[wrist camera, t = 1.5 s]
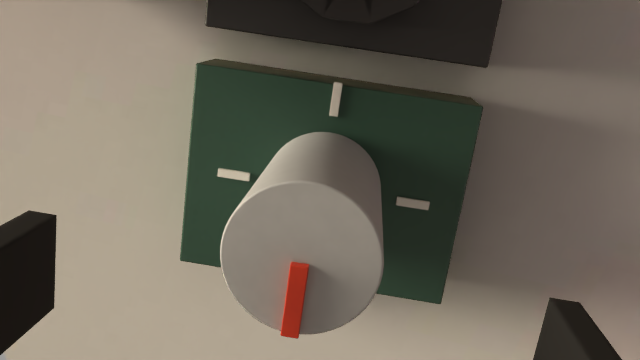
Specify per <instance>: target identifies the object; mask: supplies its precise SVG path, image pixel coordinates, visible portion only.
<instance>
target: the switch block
mask: <svg viewBox="0 0 640 360" xmlns="http://www.w3.org/2000/svg"><path fill="white" fill-rule="evenodd" d="M501 4H502V0H207V6H206V18H205V25H206V26H208V27H215V28H222V29H229V30H235V31H242V32H249V33H256V34H262V35H269V36H276V37H282V38H289V39H296V40H303V41H309V42H316V43H323V44H330V45H336V46H343V47H350V48H356V49H363V50H370V51H377V52H383V53H390V54H397V55H404V56H410V57H417V58H424V59H430V60H437V61H444V62H451V63H457V64H464V65H471V66H477V67H484V68H486V67H488V64H489V60H490V55H491V50H492V46H493V41H494V36H495V32H496V27H497V22H498V18H499V13H500V8H501Z"/></svg>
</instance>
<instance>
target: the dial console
mask: <svg viewBox="0 0 640 360" xmlns="http://www.w3.org/2000/svg"><path fill="white" fill-rule="evenodd" d="M482 111H483V107H482V106H481V105H480V104H478V103H477V102H476V101H475V100H473V99H472V98H471V97H464V96H457V95H451V94H444V93H438V92H431V91H424V90H418V89H411V88H405V87H398V86H391V85H385V84H378V83H371V82H365V81H358V80H352V79H345V78H338V77H332V76H325V75H319V74H312V73H305V72H299V71H292V70H286V69H279V68H272V67H266V66H259V65H252V64H246V63H239V62H233V61H226V60H219V59H213V60H209V61H205V62H201V63H197V64H196V73H195V85H194V97H193V109H192V121H191V133H190V145H189V157H188V169H187V181H186V193H185V205H184V217H183V230H182V242H181V254H180V260H181V261H186V262H192V263H198V264H204V265H210V266H215V267H221V262H220V245H221V239H222V235H223V232H224V229H225V226H226V224H227V222H228V220H229V218H230V217H231V215H232V214H233V212H234V211H235V209H236V208H237V207H238V205H239V204H240V202H241V201H242V200H243V198H244V197H245V196H246V194H247V193H248V192H249V190H250V189H251V187H252V186H253V185H254V183H255V182H256V181H257V179H258V178H259V177H260V175H261V174H262V172H263V171H264V170H265V168H266V167H267V166H268V164H269V163H270V162H271V160H272V159H273V157H274V156H275V155H276V153H277V152H278V151H279V150H280V149H281V148H282V147H283V146H284V145H285V144H287V143H288V142H290V141H291V140H293V139H294V138H297V137H299V136H301V135H304V134H308V133H313V132H330V133H335V134H339V135H342V136H345V137H347V138H349V139H351V140H353V141H354V142H356V143H357V144H359V145H360V146H361V147H362V148H363V149H364V150H365V151H366V152H367V153H368V154H369V155H370V157H371V158H372V160H373V162H374V163H375V166H376V168H377V170H378V173H379V176H380V182H381V202H382V225H383V249H384V268H383V275H382V279H381V283H380V285H379V288H378V290H377V292H376V294H382V295H388V296H394V297H400V298H406V299H412V300H418V301H424V302H430V303H436V304H441V301H442V296H443V292H444V287H445V282H446V278H447V273H448V268H449V264H450V259H451V254H452V250H453V245H454V241H455V236H456V231H457V227H458V222H459V217H460V213H461V208H462V204H463V199H464V194H465V190H466V185H467V180H468V176H469V171H470V167H471V162H472V157H473V153H474V148H475V143H476V139H477V134H478V130H479V125H480V120H481V116H482Z"/></svg>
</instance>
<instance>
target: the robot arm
mask: <svg viewBox="0 0 640 360" xmlns="http://www.w3.org/2000/svg"><path fill="white" fill-rule="evenodd" d="M55 252H56V215H52V214H46V213H40V212H34V211H27V212H25V213H23V214H22V215H20V216H18V217H16V218H14V219H12V220H10V221H9V222H7V223H5V224H3V225H1V226H0V355H1V354H2V353H3V352H4V351H6V350H7V349H8V348H9V347H10V346H11V345H12V344H14V343H15V342H16V341H17V340H18V339H19V338H20V337H21V336H23V335H24V334H25V333H26V332H27V331H28V330H29V329H31V328H32V327H33V326H34V325H35V324H36V323H37V322H39V321H40V320H41V319H42V318H43V317H44V316H45V315H46V314H48V313H49V312H50V311H51V310H52V309H53V308H54V291H55ZM533 360H622V359H621V358H620V356H619V355H618V354H617V352H616V351H615V350H614V348H613V347H612V346H611V344H610V343H609V341H608V340H607V339H606V337H605V336H604V335H603V333H602V332H601V331H600V329H599V328H598V327H597V325H596V324H595V323H594V321H593V320H592V318H591V317H590V316H589V314H588V313H587V312H586V310H585V309H584V308H583V306H582V305H581V304H580V303H579V302H573V301H567V300H561V299H555V298H549V302H548V306H547V310H546V313H545V317H544V321H543V325H542V328H541V332H540V336H539V340H538V343H537V347H536V351H535V355H534V358H533Z"/></svg>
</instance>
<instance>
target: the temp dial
mask: <svg viewBox="0 0 640 360" xmlns="http://www.w3.org/2000/svg"><path fill="white" fill-rule="evenodd" d="M220 262H221V268H222V272H223V276H224V279H225V281H226V284H227V286H228V288H229V290H230V292H231V294H232V295H233V297H234V298H235V299H236V301H237V302H238V303H239V305H240V306H241V307H242V308H243V309H244V310H245V311H246V312H247V313H249V314H250V315H251V316H252V317H254V318H255V319H257V320H258V321H260V322H261V323H263V324H265V325H267V326H269V327H271V328H274V329H277V330H280V331H281V336H285V337H291V338H298V337H299V334H317V333H323V332H327V331H331V330H333V329H336V328H339V327H341V326H343V325H345V324H346V323H348V322H350V321H351V320H353V319H354V318H355V317H357V316H358V315H359V314H360V313H361V312H362V311H363V310H364V309H365V308H366V307H367V306H368V305H369V303H370V302H371V301H372V299H373V298H374V296H375V294H376V292H377V290H378V288H379V285H380V283H381V279H382V275H383V268H384V249H383V225H382V202H381V182H380V176H379V173H378V170H377V168H376V166H375V163H374V162H373V160H372V158H371V157H370V155H369V154H368V153H367V152H366V151H365V150H364V149H363V148H362V147H361V146H360V145H359V144H357V143H356V142H354V141H353V140H351V139H349V138H347V137H345V136H342V135H339V134H335V133H330V132H313V133H308V134H304V135H301V136H299V137H297V138H294V139H293V140H291V141H290V142H288V143H287V144H285V145H284V146H283V147H282V148H281V149H280V150H279V151H278V152H277V153H276V155H275V156H274V157H273V159H272V160H271V162H270V163H269V164H268V166H267V167H266V168H265V170H264V171H263V172H262V174H261V175H260V177H259V178H258V179H257V181H256V182H255V183H254V185H253V186H252V187H251V189H250V190H249V192H248V193H247V194H246V196H245V197H244V198H243V200H242V201H241V202H240V204H239V205H238V207H237V208H236V209H235V211H234V212H233V214H232V215H231V217H230V218H229V220H228V222H227V224H226V226H225V229H224V232H223V235H222V239H221V245H220Z"/></svg>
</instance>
